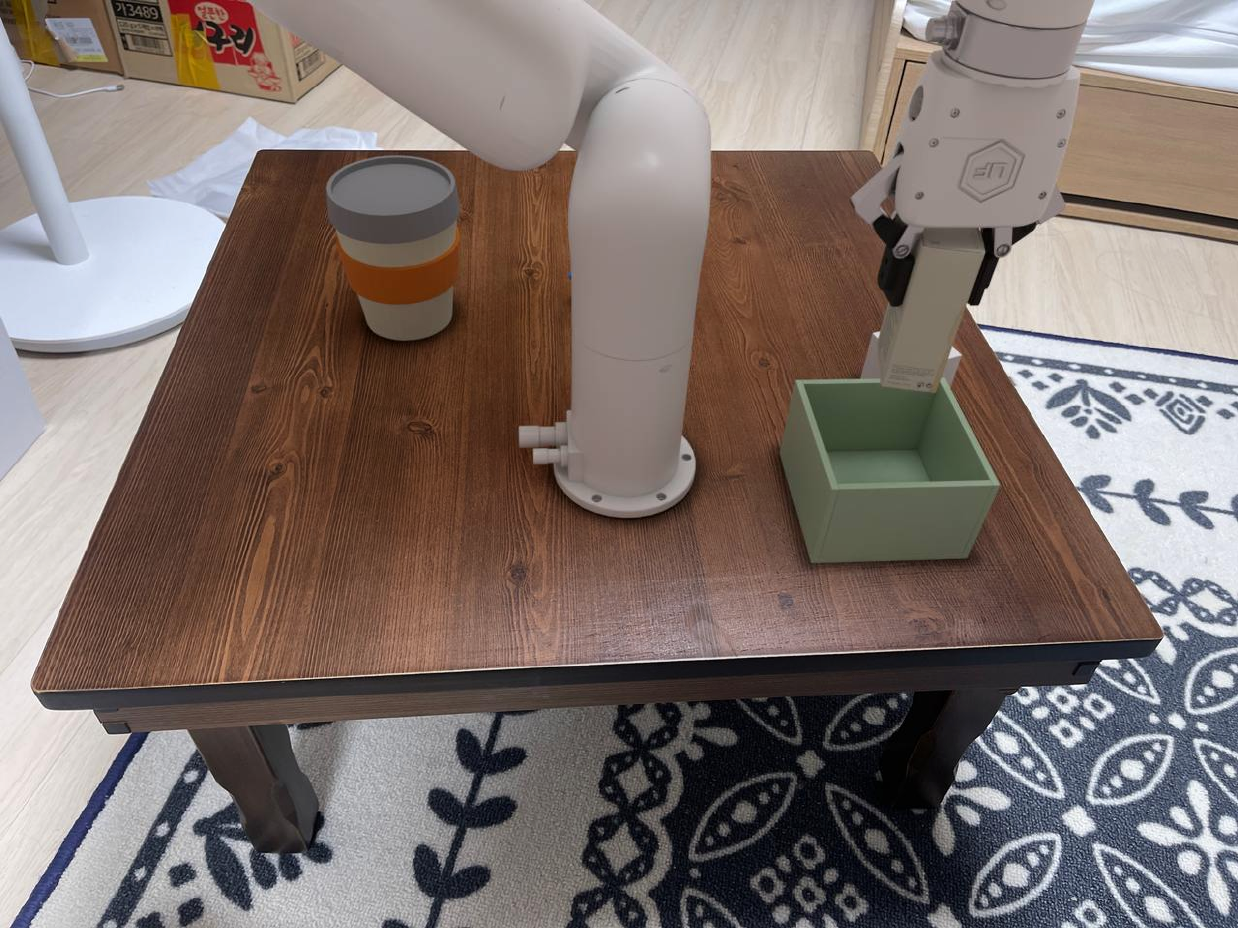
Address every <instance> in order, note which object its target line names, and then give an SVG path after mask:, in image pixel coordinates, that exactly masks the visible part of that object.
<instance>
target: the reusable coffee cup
mask: <svg viewBox="0 0 1238 928" xmlns="http://www.w3.org/2000/svg"><path fill="white" fill-rule="evenodd" d="M325 193H326V207H327V218H328V222H329V224H331V226H332V227H333V229H335V232H336V240H335V244H336V248H337V252H338V255H339V258H340V260H341V264H342V266H343V269H344V272H345V275H346V278H347V280H348V283H349V286H350V288H351V289H352V291H353V292H355V293H356V295H357V297H358V301H359V304H360V306H361V309H362V312H363V315H364V318H365V321H366V324H367V326H368V328H369V329H370V330H372V332H373V333H374V334H376V335H378V336H379V337H383V338H385V339H389V340H394V341H403V342H404V341H405V342H407V341H416V340H422V339H425V338H429V337H431V336H434V335H436V334H438V333H440V332H441V331H443V330H444V329H446V327H448V325H449V323H450V322H451V320H452V317H453V303H454V302H453V300H454V285H455V283H456V282H457V279H458V277H459V262H460V244H461V232H460V230H459V227H458V226H457V222H458V221H457V219H458V218H459V216H460V213H461V202H460V199H459V194H458V193H459V192H458V188H457V183H456V179H455V177H454V175H453V173H452V172H451V171H450V170H449V168H447V167H445V165H443V164H441V163H439V162H437V161H434V160H432V159H428V158H424V157H420V156H412V155H400V154H399V155H398V154H397V155H394V154H393V155H382V156H381V155H380V156H374V157H367V158H364V159H361V160H358V161H354V162H352V163H350V164H347V165H345V166H343V167H342V168H340V169H338V170H337V171H335V172H334V173H333V174H332V175H331V176H330V177H329V178H328V181H327V182H326V187H325Z"/></svg>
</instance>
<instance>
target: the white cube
mask: <svg viewBox="0 0 1238 928" xmlns="http://www.w3.org/2000/svg"><path fill="white" fill-rule="evenodd" d="M880 331H881V330H880ZM880 331H875V332H872V334H871V338H870V341H869V343H868V344H869V345H868V348H867V352H866V355H865V360H864V362H863V367H862V369H861V374H860V377H859V379H880V375H879V363H878V348H877V342H878V338H879V334H880ZM962 358H963V354H962V353H961V352H960V351H958V350H957V349H956V348H955V347H954V345H952V348H951V351H950V354H949V357H948V360H947V363H946V366H945V369H944V372H943V374H942V377H941V378H945V379H946V381H947V383H948V385H949V387H950V388H951V387H952V384H953V382H954V378H955V376H956V373H957V370H958V367H959V365H960V362H961V360H962Z"/></svg>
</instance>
